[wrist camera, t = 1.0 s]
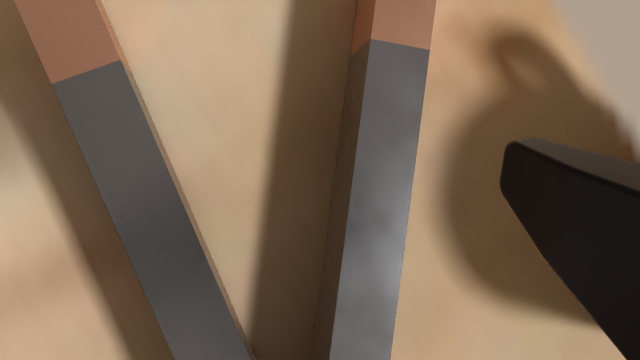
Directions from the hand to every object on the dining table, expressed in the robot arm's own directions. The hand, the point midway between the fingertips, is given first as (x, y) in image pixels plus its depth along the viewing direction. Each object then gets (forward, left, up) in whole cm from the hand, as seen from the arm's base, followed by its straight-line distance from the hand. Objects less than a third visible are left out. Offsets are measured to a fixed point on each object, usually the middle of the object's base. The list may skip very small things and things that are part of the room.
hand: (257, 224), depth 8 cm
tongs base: (-2, -4, -14) cm, 15 cm away
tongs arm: (-1, +3, -13) cm, 14 cm away
